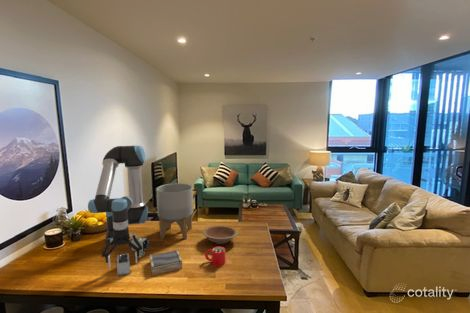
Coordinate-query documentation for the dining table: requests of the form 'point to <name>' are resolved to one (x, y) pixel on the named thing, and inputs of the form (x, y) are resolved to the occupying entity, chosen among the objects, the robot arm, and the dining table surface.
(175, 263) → the stand
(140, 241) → the pneumatic valve
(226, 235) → the bowl
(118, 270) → the housing
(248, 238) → the dining table surface
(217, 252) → the mug
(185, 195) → the planter
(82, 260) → the dining table surface
